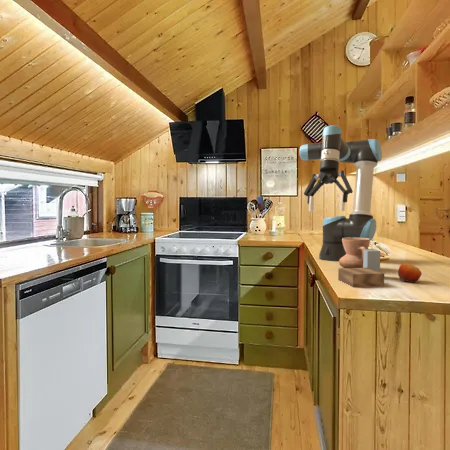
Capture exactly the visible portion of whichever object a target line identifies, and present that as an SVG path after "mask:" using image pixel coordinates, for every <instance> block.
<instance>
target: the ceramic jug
mask: <svg viewBox="0 0 450 450" xmlns="http://www.w3.org/2000/svg"><path fill="white" fill-rule="evenodd" d="M342 243H343V246H344V249H345V252H346V255H345V256H343V257H342V258H340V260H339V261H338V263H339V265H340V267H342V268H363V252H364V250H369V247H370V243H371V241H370V239H368V238H355V237H354V238H350V237H349V238H342Z"/></svg>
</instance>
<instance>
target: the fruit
mask: <svg viewBox="0 0 450 450" xmlns="http://www.w3.org/2000/svg"><path fill="white" fill-rule="evenodd" d="M397 274H398V277H399V278H398V279H399V280H400V281H401V283H403V282H408V283H409V282H410V283H416V282H418V281H419V279H420V278H421V276H422V271H421V270H420V268H418V267H417V266H415V265H412V264H411V263H405V262H403V263H401V264H400V265H399V268H398V270H397Z"/></svg>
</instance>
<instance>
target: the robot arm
mask: <svg viewBox="0 0 450 450" xmlns="http://www.w3.org/2000/svg"><path fill="white" fill-rule="evenodd" d="M321 137H322V139H321V142H316V143H314V142H313V143H306V144H302V145H300V147H299V152H298V153H299V157H300V160H301V161H320V164H319V173H318V174H316V173H312V175H311V179H310V180H309V183H308V185H307V187H306V188H305V190H304V192H303V195H304V196H306V197H307V204H308V212H309V213H314V205H315V204H314V203H315V197H314V196H315V194H316V193H317V192H318V191H319V189H321V187H323V186H324V184H325V185H328V184H329V185H330V184H335V185H336V186H337V187H338V189H339V190H340V191H341V192H342V193H341V194H340V205H339V210H340V211H341V212H345V209H346V208H345V207H346V203H347V202H348V197H349V196H348V195H349V194H352V193H353V192H354V194H353V202H352V204H353V205H352V212H350V214H348V218H346V215H338V216H330V217H329V216H328V217H327V216H326V217H324V218H323V221H322V245H321V248H320V250H319V256H318V259H320V260H324V261H333V262H334V261H338V262H339V260H340V258H342V257H343V256H345V255H346V252H345V249H344V246H343V243H342V238H349V237H350V238H354V237H355V238H368V239H370V242H371V241H372V240H373V238H374V236H375V234H376V230H377V220H376V219H374V215H373V214H372V213H371V208H372V207H371V205H372V194H373V181H374V171H375V168H376V167H377V166H378V162H381V161H382V158H383V152H382V151H383V150H382V145H381V143H380V141H379V140H378V139H377V138H373V139H372V138H368V139H359V140H353V141H352V140H350V141H345V140H344V139H343V137H342V129H341V127H340V126H338V125H336V124H335V125H334V124H333V125H331V124H330V125H327V126H325V127H324V128H323V131H322V135H321ZM340 163H342V164H343V163H345V164H346V163H347V164H353V166H354V167H355V168H356V170H355V179H354V180H355V183H354V191H353V188H352V187H351V184H350V182H349V181H348V180H349V179H348V178H347V172H346V171H345V170H344V169H343V170H340V171H339V168H340ZM338 177H340V178H341V180H342V181H343V184H344V186H345V187H344V186H343V185H342V184H341V183H340V182H339V180H338ZM345 188H346V189H345Z"/></svg>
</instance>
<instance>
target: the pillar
mask: <svg viewBox="0 0 450 450" xmlns="http://www.w3.org/2000/svg"><path fill="white" fill-rule="evenodd" d="M363 268H370V269H373V270H376V271H379V272H381V250H378V249H368V250H364V252H363Z"/></svg>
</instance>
